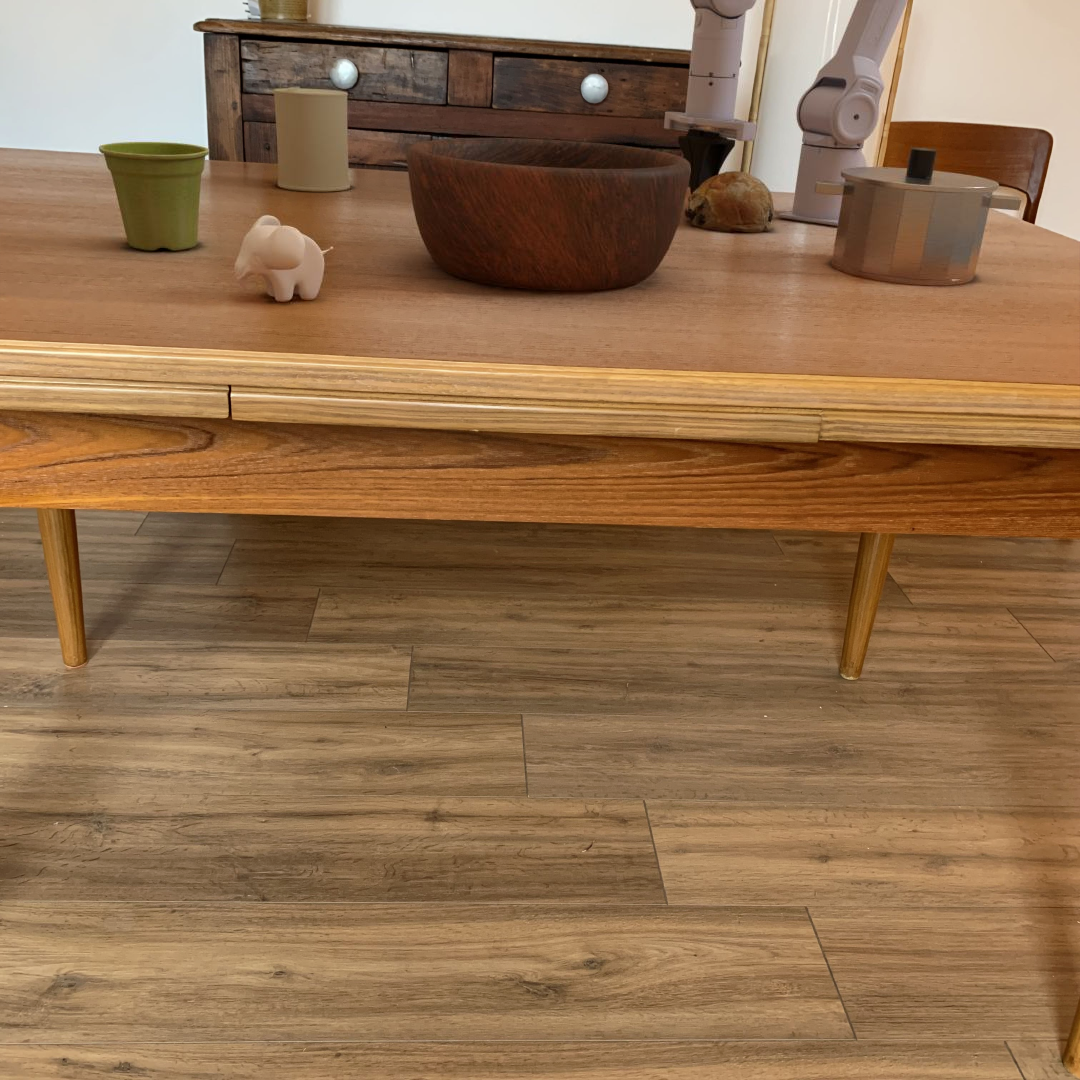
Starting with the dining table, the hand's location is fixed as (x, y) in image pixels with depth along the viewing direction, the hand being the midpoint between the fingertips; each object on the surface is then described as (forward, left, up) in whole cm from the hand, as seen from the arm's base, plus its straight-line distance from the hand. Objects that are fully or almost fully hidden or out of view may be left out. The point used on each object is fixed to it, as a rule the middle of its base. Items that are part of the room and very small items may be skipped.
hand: (700, 198), depth 132 cm
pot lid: (+12, +30, +6) cm, 32 cm away
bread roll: (+2, +5, -3) cm, 6 cm away
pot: (+12, +30, -2) cm, 32 cm away
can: (+20, -45, -3) cm, 50 cm away
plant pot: (+59, -24, -3) cm, 64 cm away
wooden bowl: (+40, +6, -3) cm, 41 cm away
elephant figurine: (+65, -1, -3) cm, 65 cm away
